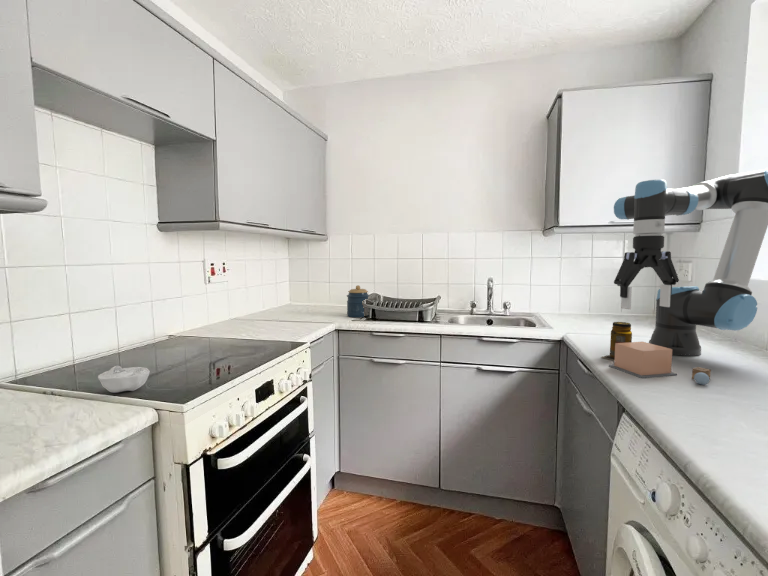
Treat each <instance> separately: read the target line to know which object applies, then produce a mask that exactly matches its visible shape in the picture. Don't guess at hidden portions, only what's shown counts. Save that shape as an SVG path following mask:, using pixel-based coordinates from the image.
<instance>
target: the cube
mask: <svg viewBox="0 0 768 576" xmlns="http://www.w3.org/2000/svg"><path fill="white" fill-rule="evenodd" d="M699 372H702V373H705V374H707V375H708V376H709V381H711V375H712V374H711V373H712V369H708V368H704V367H699V366H696V367H693V368H692V373H691V380H694V376H695V374H696V373H699Z"/></svg>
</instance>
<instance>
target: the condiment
mask: <svg viewBox="0 0 768 576" xmlns="http://www.w3.org/2000/svg"><path fill="white" fill-rule="evenodd" d="M632 332H633V331H632V324H631V323H630V322H627V321H625V322H624V321H614V322H612V327H611V330H610V344H609V354H607V355H604V356H601V358H602V359H605V360H606V359H607V360H610V361H613V362H614V361H615V343H628V342H632V341H633V340H632V339H633V333H632Z"/></svg>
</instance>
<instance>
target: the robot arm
mask: <svg viewBox="0 0 768 576" xmlns="http://www.w3.org/2000/svg"><path fill="white" fill-rule="evenodd" d="M730 209H731V212H733V213H734V217H733V219H732V223H731V226H730V229H729V232H728V235H727V238H726V241H725V244H724V246H723V250H722V253H721V255H720V258H719V261H718V264H717V267H716V270H715V272H714V276H713V279H712V280H711V281H708V282H706V283H705V285H704V288H703V290H700V288H699V286H698V285H692V286H675V285H677V283H679V281H680V280H679V279H680V278H679V277H678V274H677V271H676V268H675V266H674V263H673V260H672V252H671V251H668V250H667V251H666V250H665V251H664V250H663V251H662V249H663V248H664V247H665V236H664V235H662V234H665V225H666V223H665V221H666V220H665V219H666V216H667V217H668V216H685V215H689V214H691V213H692V212H694V211H695V210H696V211H704V210H730ZM613 214H614V216H615V217H616V218H617V219H619V220H633V230H632V234H633V235H634V236H633V238H632V248H633V249H634V252H633V251H632V252H631V251H630V252H628V251H626V252H625V253H624V257H623V260H622V263H621V264H620V265H621V266H620V268H619V269H618V271H617V273H616V274H617V275H616V276H615V278H614V281H613V284H614V285H616V286H617V287H619V288H620V289H619V291H620V292H619V297H620V298H621V300H620V301H621V303H620V308H621V309H622V310H631V309H632V286H630V285H631V284H632V283H633V281H634V280H635V278H636V277H637V275H638V274H639V273H640V271H642V270H643V269H644V268H652V270H653V271H654V273H656V275H657V276H658V278H659V279H660V281H661V283H663V284H660V285H659V286H660V288H659V289H658V290H657V295H656V298H655V301H656V305H655V309H656V310H655V325H654V326H655V328H654V329H653V331H652V334H651V337H650V339H649V341H648V343H650V344H654V345H658V346H662V347H666V348H670V349H672V356H673V355H675V356H685V357H686V356H688V357H690V356H692V357H693V356H699V355H701V354H702V346H701V344H700V341H699V340H700V339H699V337H698V334H697V326H700V327H707V328H713V329H718V330H721V331H722V330H723V331H740V330H743V329H745V328H747V327H748V326H749V325H750V324H752V322H753V321H754V320H755V317H756V315H757V312H758V307H757V306H758V300H757V299H756V298H755V297H754V296H753V295H752V294H753V291H752V290H751V288H749V283H750V280H751V278H752V274H753V272H754V268H755V265H756V262H757V259H758V256H759V253H760V250H761V247H762V246H763V245H762V244H763V241H764V239H765V235H766V233H767V229H768V167H766V168H765V169H757V170H753V171H752V170H751V171H747V172H740V173H734V174H728V175H725V176H720V177H718V178H713V179H711V180H706V181H701V182H698V183H695V184H693V185H692V186H688V187H687V186H686V187H681V188H668V184H667V181H666V180H665V179H649V180H642V181H640V182H638V183H637V184H636V185H635V189H634V195H628V196H627V195H626V196H623V197H620V198H619V197H618V199H617V200H615V202H614V205H613Z"/></svg>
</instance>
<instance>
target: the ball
mask: <svg viewBox="0 0 768 576" xmlns="http://www.w3.org/2000/svg"><path fill="white" fill-rule="evenodd" d="M693 380H694V381H695V383H697V384H698V385H700V386H701V385H702V386H703V385H707V384H708V383H709V382H710V380H709V376H708V375H707V374H705V373H702V372H699V373H696V374H695V376H694V379H693Z"/></svg>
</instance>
